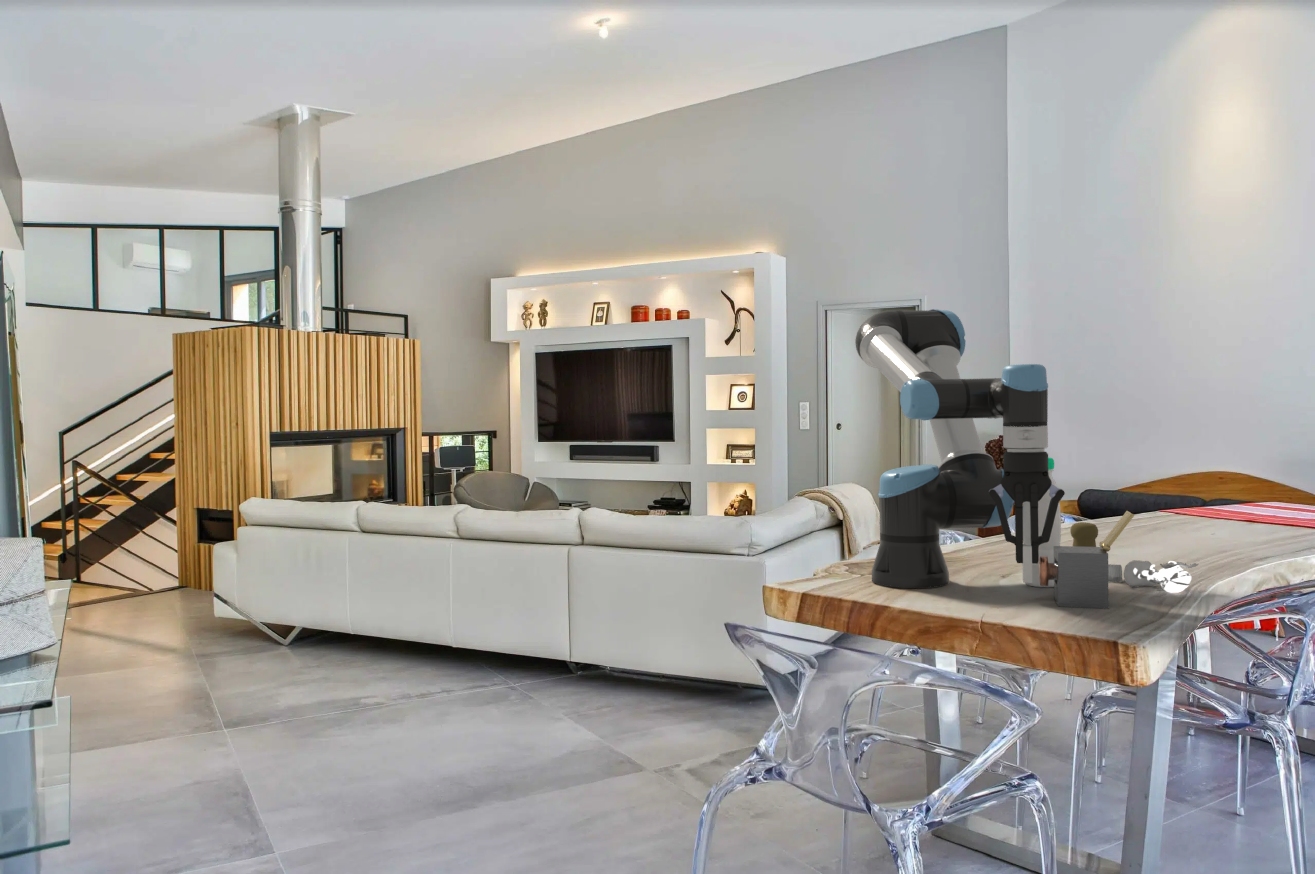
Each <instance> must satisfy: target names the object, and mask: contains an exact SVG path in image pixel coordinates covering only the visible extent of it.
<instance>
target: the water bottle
mask: <svg viewBox="0 0 1315 874" xmlns="http://www.w3.org/2000/svg"><path fill="white" fill-rule="evenodd" d="M1054 468H1055V460H1054V459H1053V458H1052V457H1050V456H1048V474H1049V478H1050V479H1051V481H1052V485H1054V486H1056V487H1057V488H1059V487H1058V486H1057V484H1056V481H1055V479H1054V478H1053V476H1052V473H1053V472H1054ZM1049 493H1050V490H1049V489H1048V491H1047V492H1046V493H1045V495H1044V496H1043V497H1042V498H1041V500H1040V501H1038V536H1042V532H1043V528H1044V524H1045V520H1046V516H1047V512H1048V508H1049V504H1050V500H1051V497H1050V495H1049ZM1061 533H1062V519H1061V503H1060V502H1059V503H1058V507H1057V511H1056V515H1055V519H1054V523H1053V527H1052V531H1051V535H1050V539H1049V541H1048V542H1047V543H1042V544H1040V545H1039V557H1040V556H1041V557H1047V558H1048V563H1054V546H1061V541H1062V540H1061V537H1062V535H1061ZM1023 544H1026V545H1031V535H1030V502H1027V501H1026V502H1023ZM1024 584H1025V585H1026V586H1029V587H1036V588H1054V580H1049V582H1048V586H1040V581H1039V561H1038V564H1033V563H1032V583H1024Z"/></svg>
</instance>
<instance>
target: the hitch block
mask: <svg viewBox="0 0 1315 874" xmlns="http://www.w3.org/2000/svg"><path fill="white" fill-rule="evenodd" d="M1054 563H1057V580H1054V587H1053V598H1054V601H1055V602H1056V604H1057V606H1058V607H1061V608H1062V607H1063V608H1084V609H1087V608H1088V609H1089V608H1090V609H1109V604H1110V603H1109V597H1110V595H1109V592H1110V591H1109V582H1108V564H1109V553H1108V552H1106V551H1104V550H1103V549H1102V548H1101V547H1100V546H1096V547H1076V546H1073V545H1072V546H1069V545H1068V546H1067V545H1065V546H1064V545H1060V546H1054Z"/></svg>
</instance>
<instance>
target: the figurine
mask: <svg viewBox="0 0 1315 874" xmlns="http://www.w3.org/2000/svg"><path fill="white" fill-rule="evenodd" d="M1159 565H1160V567H1161V568H1160V569H1159V570H1158V569H1156V568H1155V567H1156V564H1152V563H1151V562H1150V561H1149V560H1138V559H1137V560H1131V561H1129V562H1128V563H1127V564H1126V565H1125V566H1124V570H1123V579H1124V581H1125V584H1127V585H1128V586H1129V587H1131V588H1137V587H1148V586H1149V587H1151V586H1154V588H1155V589H1157V591H1159V592H1167V593H1172V594H1178V593H1180V592H1183V591H1185V589H1186V588H1188V587H1189V586H1190V584H1191V581H1192V575H1191V574H1190V573H1189V572H1188V571H1187V570H1185V569H1193V568H1196V567H1198V566H1199V563H1197V562H1196V563H1195V562H1193V563H1192V564H1191V563H1190V564H1187V563H1186V562H1185V563H1183V562H1180V561H1174V560H1169V561H1168V562H1167V563H1163V564H1162V563H1159ZM1183 568H1184V569H1183ZM1155 585H1160V586H1161V587H1160V586H1155Z"/></svg>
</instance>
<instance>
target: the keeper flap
mask: <svg viewBox="0 0 1315 874" xmlns="http://www.w3.org/2000/svg"><path fill="white" fill-rule="evenodd" d="M1134 517H1135V514H1134V513H1131V512H1130V511H1128V510H1126V511H1125V512H1124V514H1123V515H1122V516H1121V518H1120V519H1119V521H1118V522H1117V523H1116V524H1115V526H1113V528H1112V530H1110V532H1109V533H1108V535H1107V536H1106V537H1105V538H1104V540H1102V541H1099V545H1098V547H1101V548H1102V549H1103V550H1104V551H1106V552H1107V553H1108V552H1110V550H1111V546H1112V545H1113V543H1114V542H1115V541H1116V540H1117V539H1118V538H1119V536H1120V535H1121V534H1122V532H1123V531H1124V529H1126V527H1127V526H1128V524H1129V523H1130V522H1131V520H1132V519H1133V518H1134Z"/></svg>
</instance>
